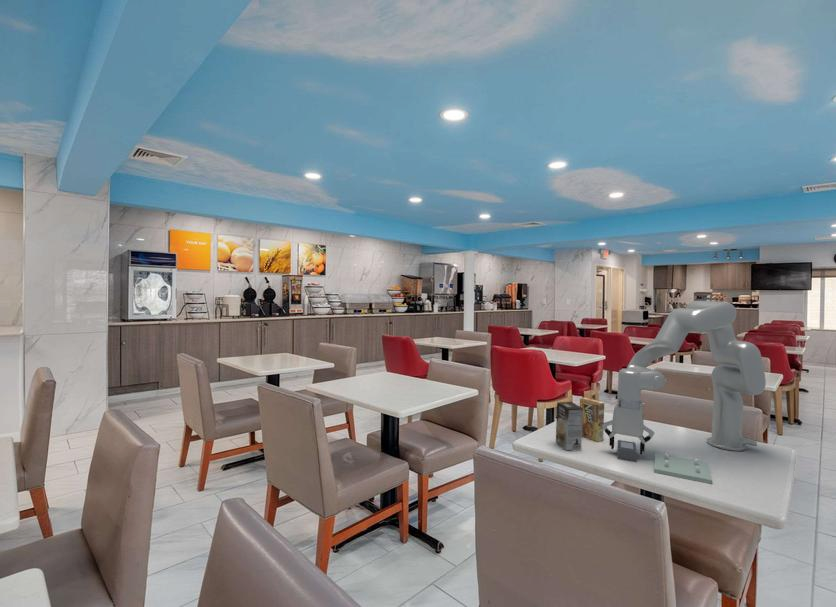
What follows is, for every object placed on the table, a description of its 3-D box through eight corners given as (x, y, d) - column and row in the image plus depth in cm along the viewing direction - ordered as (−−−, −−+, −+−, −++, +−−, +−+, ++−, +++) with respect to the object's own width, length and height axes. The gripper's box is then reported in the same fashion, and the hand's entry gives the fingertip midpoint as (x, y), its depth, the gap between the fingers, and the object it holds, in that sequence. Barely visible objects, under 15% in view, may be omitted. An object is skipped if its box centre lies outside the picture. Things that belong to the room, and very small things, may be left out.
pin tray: (707, 466, 151) (708, 456, 150) (712, 484, 137) (712, 474, 137) (654, 456, 158) (655, 447, 158) (654, 472, 145) (654, 462, 144)
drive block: (635, 453, 162) (635, 442, 162) (636, 463, 153) (636, 451, 153) (617, 450, 164) (617, 439, 164) (617, 459, 155) (618, 448, 155)
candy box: (603, 440, 174) (605, 402, 174) (597, 442, 172) (598, 403, 171) (584, 433, 182) (585, 397, 181) (578, 435, 179) (579, 398, 179)
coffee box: (554, 442, 171) (556, 401, 170) (570, 441, 172) (571, 401, 171) (566, 451, 162) (567, 408, 161) (582, 450, 163) (583, 408, 162)
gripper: (656, 405, 157) (653, 452, 157) (604, 397, 165) (602, 442, 166) (655, 410, 150) (653, 459, 151) (601, 402, 159) (599, 448, 159)
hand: (626, 450), depth 158 cm, fingers open, 9 cm apart
